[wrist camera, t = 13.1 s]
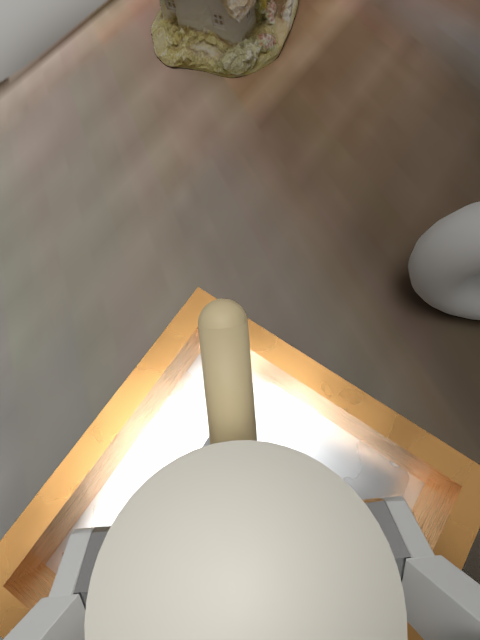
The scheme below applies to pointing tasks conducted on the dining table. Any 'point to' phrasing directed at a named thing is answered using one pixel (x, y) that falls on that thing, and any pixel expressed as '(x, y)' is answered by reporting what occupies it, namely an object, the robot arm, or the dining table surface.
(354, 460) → the white orange open box
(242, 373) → the spout can
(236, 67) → the ceramic model
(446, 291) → the donut
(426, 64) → the dining table surface
